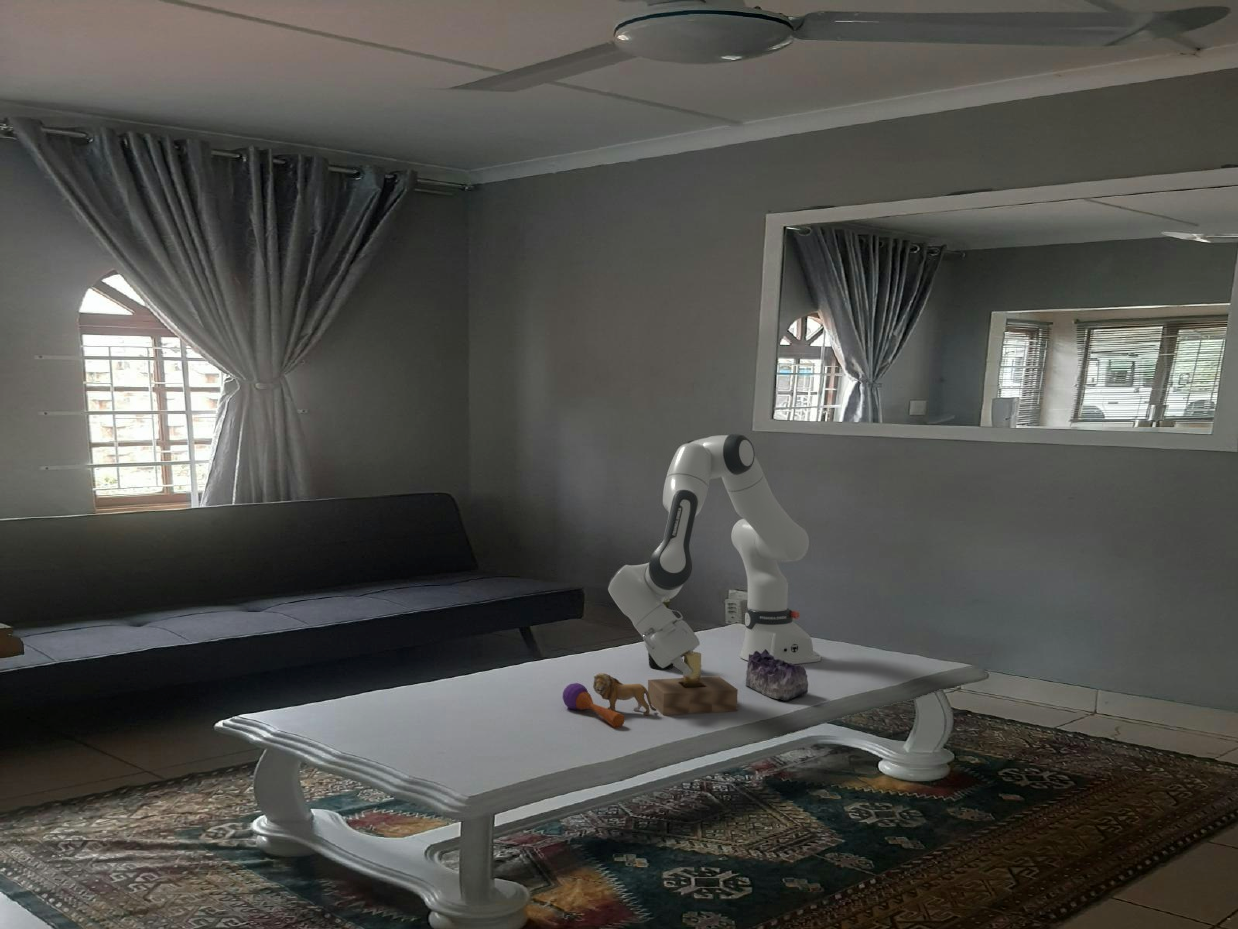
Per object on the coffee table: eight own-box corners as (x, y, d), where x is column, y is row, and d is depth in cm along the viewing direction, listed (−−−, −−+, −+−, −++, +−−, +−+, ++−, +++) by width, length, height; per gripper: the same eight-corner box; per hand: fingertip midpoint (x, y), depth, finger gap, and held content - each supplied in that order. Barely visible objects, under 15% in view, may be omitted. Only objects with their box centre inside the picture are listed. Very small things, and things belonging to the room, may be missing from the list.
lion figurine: (592, 715, 243) (593, 676, 242) (592, 708, 248) (593, 670, 248) (657, 716, 243) (658, 677, 243) (655, 709, 249) (656, 671, 248)
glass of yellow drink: (696, 693, 254) (697, 651, 254) (702, 697, 251) (703, 655, 250) (680, 694, 253) (681, 652, 253) (686, 698, 250) (687, 656, 249)
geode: (727, 684, 272) (731, 645, 273) (763, 685, 278) (767, 647, 278) (776, 702, 255) (781, 660, 255) (814, 702, 260) (819, 661, 261)
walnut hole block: (718, 696, 260) (719, 676, 260) (737, 710, 249) (737, 689, 249) (647, 700, 256) (648, 679, 255) (663, 715, 244) (663, 693, 244)
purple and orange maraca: (605, 713, 232) (556, 684, 248) (608, 738, 233) (559, 708, 249) (628, 704, 235) (578, 676, 251) (630, 729, 236) (580, 700, 253)
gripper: (649, 625, 244) (688, 673, 241) (681, 610, 263) (718, 654, 260) (630, 642, 246) (669, 690, 243) (664, 626, 265) (700, 670, 262)
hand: (694, 671), depth 251 cm, fingers closed on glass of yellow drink, 4 cm apart
